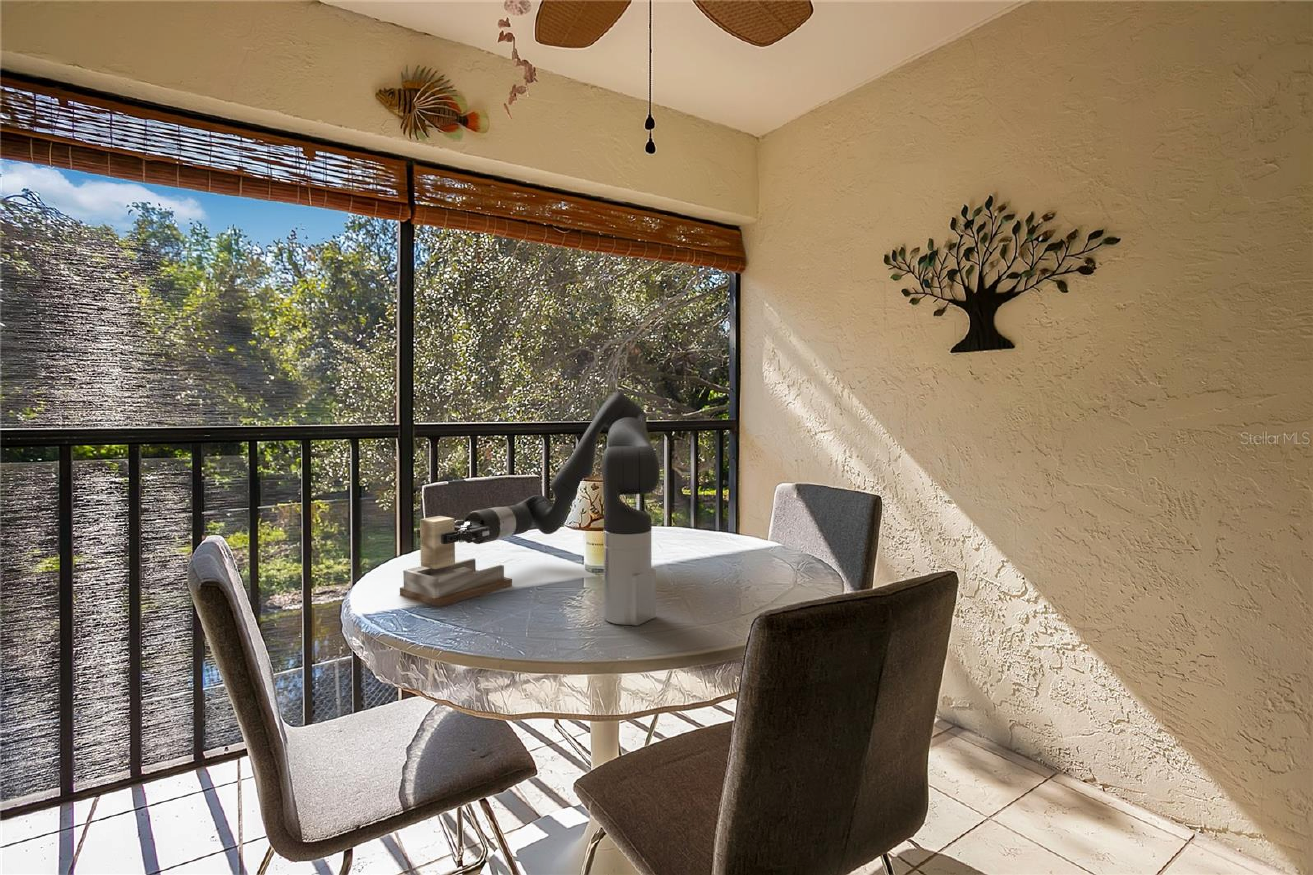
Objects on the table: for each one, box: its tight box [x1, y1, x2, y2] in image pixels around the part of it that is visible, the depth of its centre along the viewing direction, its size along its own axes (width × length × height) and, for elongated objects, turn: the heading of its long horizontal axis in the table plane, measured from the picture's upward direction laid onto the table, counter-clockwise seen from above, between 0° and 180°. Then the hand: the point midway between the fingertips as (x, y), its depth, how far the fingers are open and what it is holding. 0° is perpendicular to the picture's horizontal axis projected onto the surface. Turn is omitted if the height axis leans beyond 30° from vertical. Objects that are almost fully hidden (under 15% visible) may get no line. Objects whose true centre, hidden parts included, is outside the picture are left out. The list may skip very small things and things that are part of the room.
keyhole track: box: [399, 557, 513, 608], centre depth 146 cm, size 14×19×6 cm
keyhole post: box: [419, 515, 456, 575], centre depth 142 cm, size 7×7×15 cm
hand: (429, 536), depth 140 cm, fingers open, 8 cm apart
